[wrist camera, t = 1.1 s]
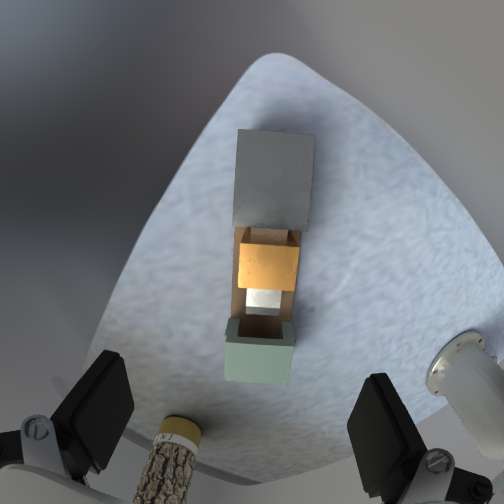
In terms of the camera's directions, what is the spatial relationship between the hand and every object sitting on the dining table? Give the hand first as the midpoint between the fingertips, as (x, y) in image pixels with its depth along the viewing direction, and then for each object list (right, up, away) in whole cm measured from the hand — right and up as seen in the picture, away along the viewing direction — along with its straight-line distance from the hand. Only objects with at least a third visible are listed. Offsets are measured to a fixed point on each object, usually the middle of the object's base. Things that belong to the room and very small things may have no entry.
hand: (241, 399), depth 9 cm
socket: (+1, -5, +22) cm, 22 cm away
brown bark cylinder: (-11, -23, +28) cm, 38 cm away
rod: (+2, +8, +18) cm, 20 cm away
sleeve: (+2, +12, +17) cm, 21 cm away
